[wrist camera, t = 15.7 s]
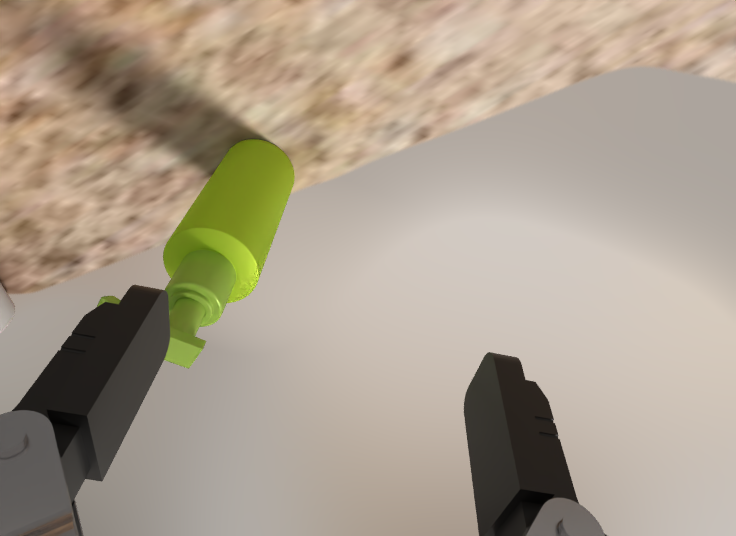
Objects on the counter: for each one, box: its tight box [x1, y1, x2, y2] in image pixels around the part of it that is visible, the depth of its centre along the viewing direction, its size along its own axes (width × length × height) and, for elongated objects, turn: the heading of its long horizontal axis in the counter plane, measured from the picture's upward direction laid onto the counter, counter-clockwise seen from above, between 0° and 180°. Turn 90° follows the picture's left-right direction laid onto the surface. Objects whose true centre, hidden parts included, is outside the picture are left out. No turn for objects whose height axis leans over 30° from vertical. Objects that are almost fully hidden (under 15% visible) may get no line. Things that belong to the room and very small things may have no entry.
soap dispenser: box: [96, 139, 294, 368], centre depth 33 cm, size 6×7×20 cm
